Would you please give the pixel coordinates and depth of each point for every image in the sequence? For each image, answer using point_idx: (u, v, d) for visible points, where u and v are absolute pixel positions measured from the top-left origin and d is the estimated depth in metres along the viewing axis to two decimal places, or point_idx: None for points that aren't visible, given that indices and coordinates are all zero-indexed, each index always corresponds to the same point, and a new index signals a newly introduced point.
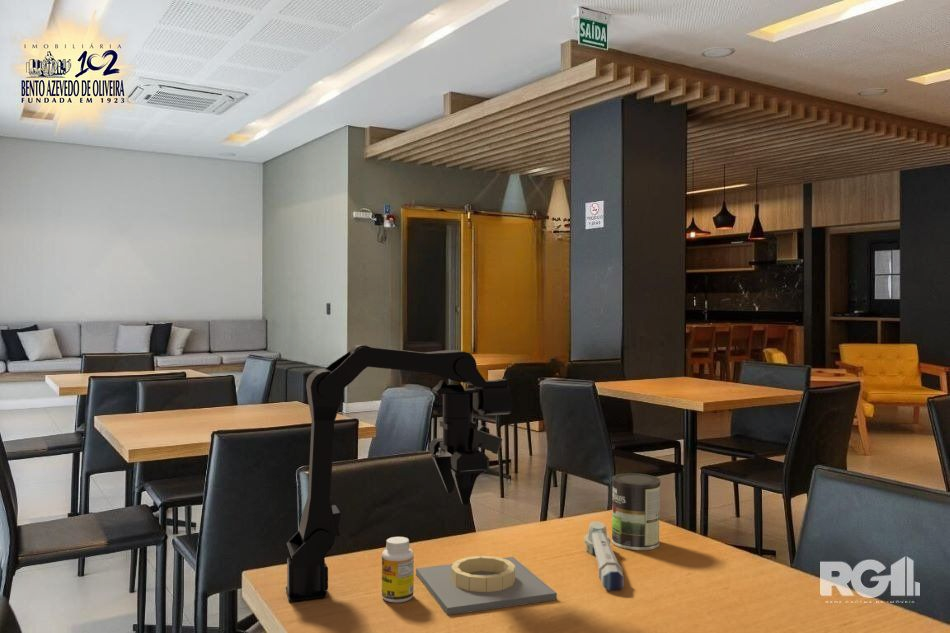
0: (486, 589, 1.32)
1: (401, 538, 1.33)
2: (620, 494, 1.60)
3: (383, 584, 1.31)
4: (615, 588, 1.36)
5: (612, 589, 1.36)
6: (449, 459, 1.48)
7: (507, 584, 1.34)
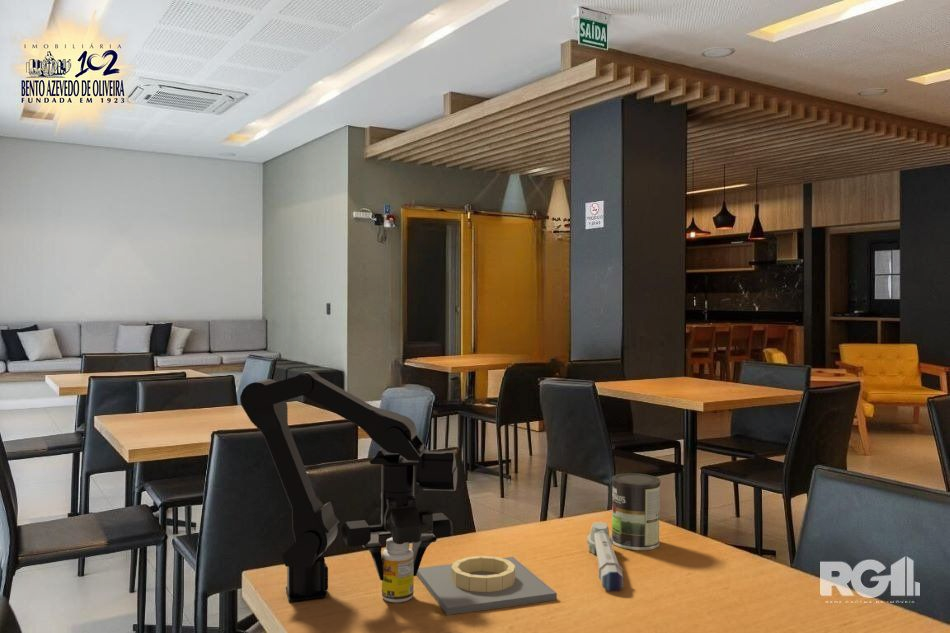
0: (486, 589, 1.32)
1: None
2: (620, 494, 1.60)
3: (383, 584, 1.31)
4: (614, 589, 1.36)
5: (611, 589, 1.36)
6: None
7: (507, 584, 1.34)
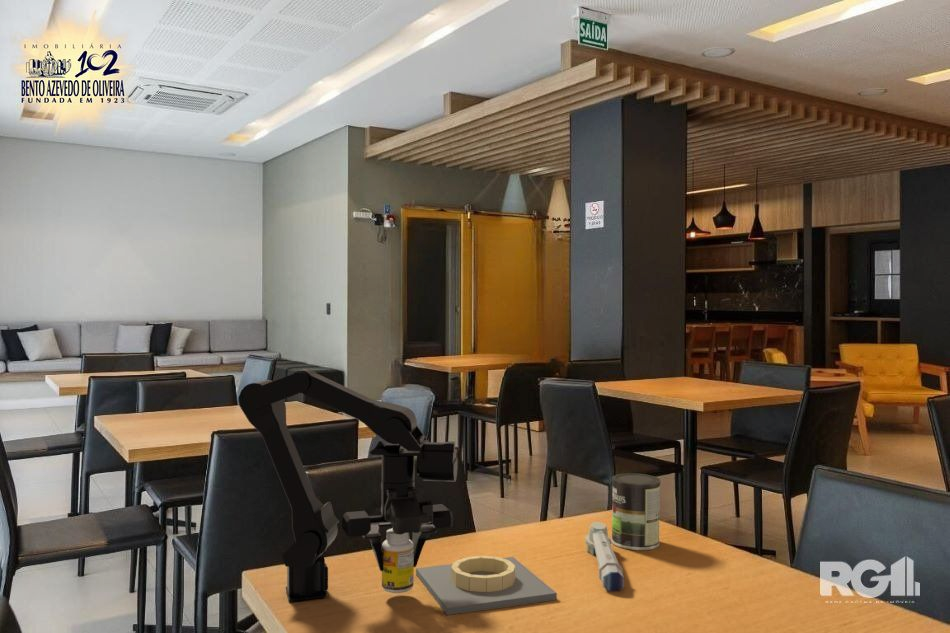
0: (486, 589, 1.32)
1: None
2: (620, 494, 1.60)
3: (383, 575, 1.31)
4: (615, 589, 1.36)
5: (612, 590, 1.36)
6: None
7: (507, 584, 1.34)
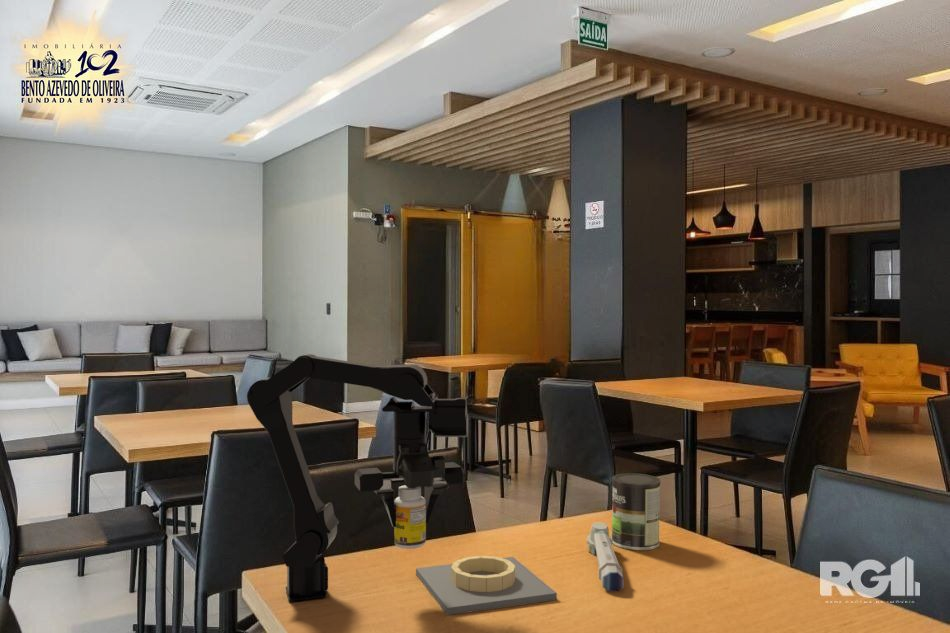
0: (486, 589, 1.32)
1: None
2: (620, 494, 1.60)
3: (395, 531, 1.31)
4: (614, 589, 1.35)
5: (612, 590, 1.36)
6: None
7: (507, 584, 1.34)
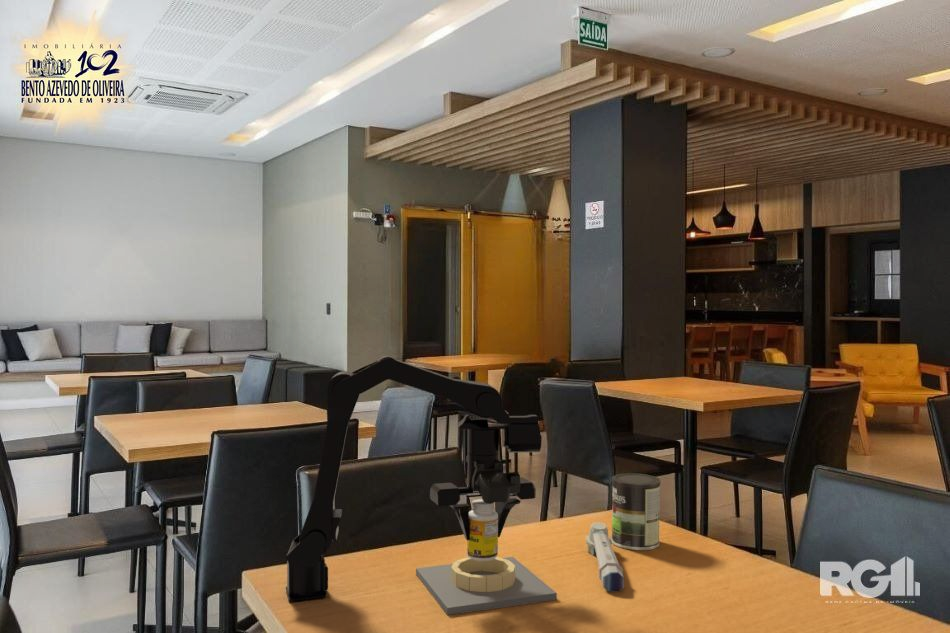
0: (486, 589, 1.32)
1: None
2: (620, 494, 1.60)
3: (469, 543, 1.36)
4: (615, 589, 1.35)
5: (612, 590, 1.35)
6: None
7: (507, 584, 1.34)
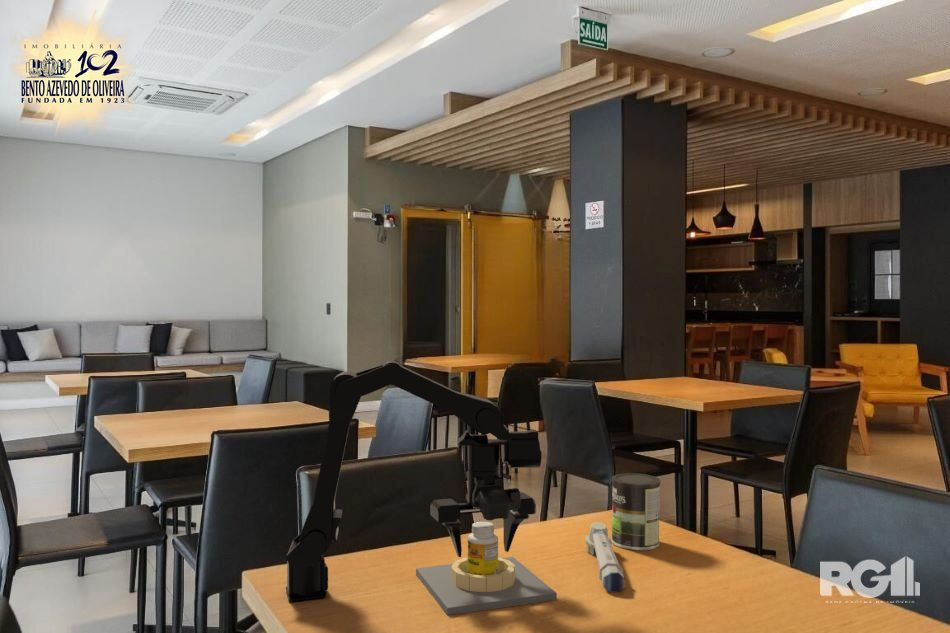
0: (486, 589, 1.32)
1: (485, 523, 1.38)
2: (620, 494, 1.60)
3: (470, 567, 1.36)
4: (615, 589, 1.35)
5: (612, 590, 1.35)
6: (509, 515, 1.39)
7: (507, 584, 1.34)
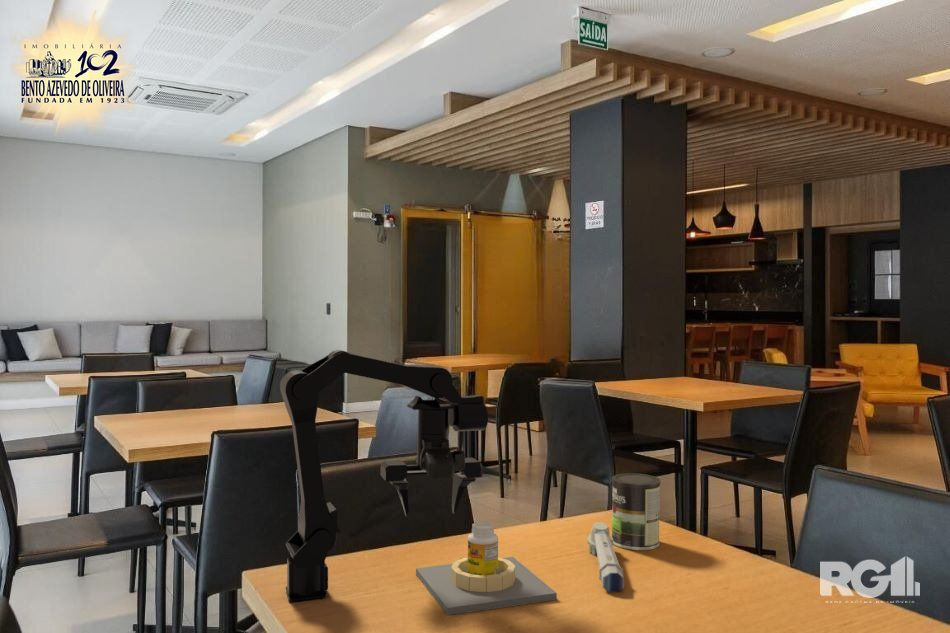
0: (486, 589, 1.32)
1: (486, 523, 1.38)
2: (620, 494, 1.60)
3: (470, 567, 1.36)
4: (615, 590, 1.35)
5: (612, 590, 1.35)
6: (457, 478, 1.44)
7: (507, 584, 1.34)
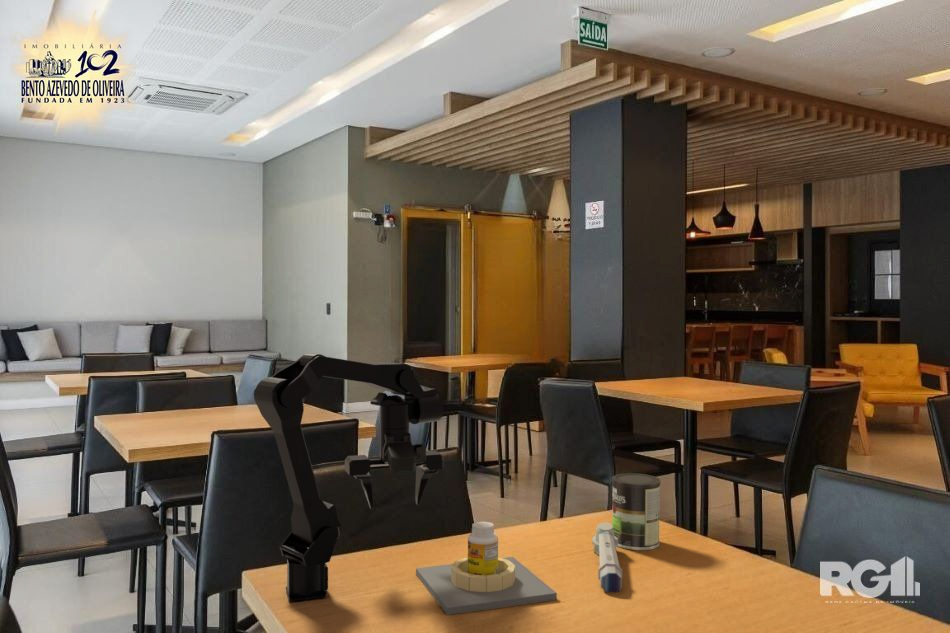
0: (486, 589, 1.32)
1: (486, 523, 1.38)
2: (620, 494, 1.60)
3: (470, 567, 1.36)
4: (612, 590, 1.35)
5: (610, 590, 1.35)
6: (419, 471, 1.49)
7: (507, 584, 1.34)
